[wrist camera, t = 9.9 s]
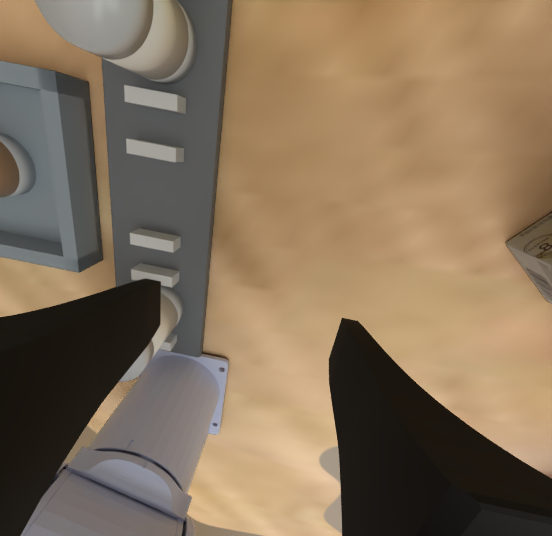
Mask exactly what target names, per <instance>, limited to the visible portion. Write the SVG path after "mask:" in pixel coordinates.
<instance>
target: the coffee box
mask: <svg viewBox="0 0 552 536" xmlns="http://www.w3.org/2000/svg"><path fill="white" fill-rule="evenodd" d="M506 245H507V247H508V248H509V250H510V251H511V252H512V254H513V255H514V257H515V258H516V259H517V261H518V262H519V263H520V265H521V266H522V268H523V269H524V270H525V272H526V273H527V274H528V276H529V277H530V279H531V280H532V281H533V283H534V284H535V285H536V287H537V288H538V289H539V291H540V292H541V294H542V295H543V296H544V298H545V299H546V300H547V301H548V302H549V303H551V304H552V213H550V214H549V215H547V216H546V217H544V218H543V219H541V220H540V221H538V222H537V223H535V224H533V225H532V226H530V227H529V228H527V229H526V230H524V231H523V232H521V233H520V234H518V235H517V236H515V237H514V238H512V239H511V240H509V241H507V243H506Z"/></svg>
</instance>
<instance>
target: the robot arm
mask: <svg viewBox="0 0 552 536" xmlns="http://www.w3.org/2000/svg"><path fill="white" fill-rule="evenodd" d="M160 320H161V281H156V280H151V279H146V278H145V279H141V280H137V281H134V282H130V283H127V284H124V285H121V286H118V287H115V288H112V289H109V290H106V291H103V292H100V293H97V294H94V295H90V296H87V297H84V298H80V299H77V300H74V301H70V302H67V303H63V304H60V305H56V306H52V307H48V308H44V309H40V310H35V311H31V312H26V313H22V314H17V315H12V316H6V317H0V536H196V533H195V524H194V521H193V520H192V519H190V518H188V517H186V514H187V511H188V508H189V505H190V502H191V499H192V497H191V496H190V495H188V494H187V493H188V490H189V488H190V485H191V482H192V479H193V476H194V473H195V470H196V467H197V464H198V461H199V459H200V456H201V453H202V450H203V447H204V444H205V441H206V438H207V435H208V433H209V434H214V435H216V434H218V433H219V431H220V426H221V418H222V411H223V404H224V396H225V389H226V382H227V374H228V367H229V362H228V360H227V359H225V358H221V357H216V356H211V355H206V354H201V355H200V357H199V358H198V357H193V356H188V355H183V354H178V353H173V352H169V351H164V350H159V349H158V351H157V352H156V353H155V355H154V356H153V357H152V359H151V360H150V361H149V363H148V364H147V366H146V367H145V368H144V370H143V371H142V372H141V374H140V375H139V378H138V379H137V381H136V382H135V384H134V385H133V386H132V388H131V389H130V390H129V392H128V393H127V394H126V396H125V397H124V398H123V400H122V401H121V403H120V404H119V405H118V407H117V408H116V409H115V411H114V412H113V413H112V415H111V416H110V417H109V419H108V420H107V422H106V423H105V424H104V426H103V427H102V428H101V430H100V431H99V432H98V434H97V435H96V437H95V438H94V439H93V441H92V442H91V443H90V445H89V446H88V447H82V448H81V449H80V451H79V452H78V453H77V455H76V456H75V458H74V459H73V460H72V461H71V463H70V464H69V465H68V463H66V462H64V460H65V458H66V457H67V455H68V453H69V452H70V450H71V449H72V447H73V446H74V444H75V443H76V441H77V439H78V438H79V436H80V435H81V433H82V432H83V430H84V428H85V427H86V426H87V424H88V423H89V421H90V420H91V418H92V417H93V415H94V414H95V412H96V411H97V409H98V408H99V406H100V405H101V403H102V402H103V401H104V399H105V398H106V397H107V395H108V394H109V393H110V392H111V390H112V389H113V388H114V387H115V385H116V384H117V383H118V382H119V381H120V379H121V378H122V377H123V376H124V375H125V373H126V372H127V371H128V370H129V368H130V367H131V366H132V365H133V364H134V362H135V361H136V360H137V359H138V357H139V356H140V355H141V354H142V352H143V351H144V350H145V349H146V347H147V346H148V345H149V343H150V341H151V340H152V338H153V337H154V335H155V333H156V331H157V330H158V328H159V326H160ZM221 367H222V368H224V369H222V368H221ZM329 384H330V392H331V399H332V406H333V413H334V419H335V426H336V433H337V440H338V448H339V459H340V480H341V505H342V536H552V479H551V478H549V477H548V476H546V475H544V474H543V473H541V472H539V471H538V470H536V469H534V468H533V467H531V466H529V465H528V464H526V463H524V462H522V461H521V460H519V459H518V458H516V457H515V456H513V455H511V454H510V453H508V452H507V451H505V450H504V449H502V448H501V447H499V446H498V445H496V444H495V443H493V442H492V441H490V440H489V439H487V438H486V437H484V436H483V435H482V434H480V433H479V432H477V431H476V430H474V429H473V428H472V427H470V426H469V425H467V424H466V423H465V422H463V421H462V420H461V419H459V418H458V417H457V416H455V415H454V414H453V413H451V412H450V411H449V410H448V409H446V408H445V407H444V406H443V405H441V404H440V403H439V402H438V401H436V400H435V399H434V398H433V397H432V396H431V395H429V394H428V393H427V392H426V391H425V390H424V389H422V388H421V387H420V386H419V385H418V384H417V383H416V382H415V381H414V380H412V379H411V378H410V377H409V376H408V375H407V374H406V373H405V372H404V371H403V370H402V369H401V368H400V367H399V366H398V365H397V364H396V363H395V362H394V361H393V360H392V358H391V357H390V356H389V355H388V354H387V353H386V352H385V351H384V350H383V349H382V348H381V346H380V345H379V344H378V343H377V342H376V341H375V340H374V338H373V337H372V336H371V335H370V334H369V333H368V332H367V330H366V329H365V328H364V327H363V326H362V325H361V324H360V323H359V322H358V321H355V320H350V319H345V318H342V320H341V323H340V326H339V329H338V333H337V336H336V339H335V342H334V345H333V348H332V351H331V355H330V358H329Z"/></svg>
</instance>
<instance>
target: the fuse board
mask: <svg viewBox="0 0 552 536" xmlns="http://www.w3.org/2000/svg"><path fill="white" fill-rule="evenodd" d="M177 1H178V2H179V3H180V5H181V6H182V7H183V8H184V9H185V11H186V12H187V13H188V15H189V17H190V19H191V21H192V23H193V26H194V29H195V32H196V38H197V54H196V58H195V62H194V64H193V67H192V69H191V70H190V72H189V73H188V74H187V76H186V77H184V78H183V79H182V80H180V81H179V82H177V83H174V84H167V85H165V84H159V83H156V82H153V81H151V80H149V79H147V78H145V77H142V76H140V75H138V74H136V73H134V72H131V71H129V70H127V69H125V68H123V67H121V66H118V65H116V64H114V63H112V62H110V61H107V60H105V59H103V58H102V70H103V86H104V102H105V118H106V133H107V149H108V165H109V181H110V197H111V213H112V229H113V244H114V260H115V276H116V287H118V286H121V285H124V284H127V283H130V282H134V281H137V280H141V279H145V278H146V279H151V280H156V281H161V285H162V286H167V287H171V288H173V289H174V290H175V291H176V292H177V293H178V294H179V295H180V297H181V298H182V301H183V303H184V314H183V316H182V318H181V320H180V321H179V322H178V324H177V325H176V326H175V328H174V329H173V330H172V332H171V333H170V334H169V336H168V337H167V339H166V340H165V341H164V343H163V344H162V345H161V347H160V348H159V350H164V351H169V352H173V353H178V354H183V355H188V356H193V357H198V358H199V357H200V355H201V353H202V351H203V339H204V327H205V316H206V304H207V292H208V280H209V269H210V257H211V245H212V233H213V222H214V210H215V198H216V187H217V175H218V163H219V151H220V140H221V128H222V116H223V104H224V93H225V81H226V69H227V57H228V46H229V34H230V22H231V11H232V0H177Z"/></svg>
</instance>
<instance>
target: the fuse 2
mask: <svg viewBox="0 0 552 536" xmlns="http://www.w3.org/2000/svg"><path fill="white" fill-rule="evenodd" d="M183 314H184V303H183V301H182V298H181V297H180V295H179V294H178V293H177V292H176V291H175V290H174V289H173V288H171V287H167V286H162V285H161V320H160V326H159V328H158V330H157V331H156V333H155V335H154V337H153V338H152V340H151V341H150V343H149V345H148V346H147V347H146V349H145V350H144V351H143V352H142V354H141V355H140V356H139V357H138V359H137V360H136V361H135V362H134V364H133V365H132V366H131V367H130V368H129V370H128V371H127V372H126V373H125V375H124V376H123V377H122V378H121V379H120V381H119V382H125V381H130V380H133V379H135V378H136V377H138V376H139V375H140V374H141V372H142V371H143V370H144V368H145V367H146V366H147V364H148V363H149V361H150V360H151V359H152V357H153V356H154V355H155V353H156V352H157V351H158V349H159V348H160V347H161V345H162V344H163V343H164V341H165V340H166V339H167V337H168V336H169V334H170V333H171V332H172V330H173V329H174V328H175V326H176V325H177V324H178V322H179V321H180V320H181V318H182V316H183Z"/></svg>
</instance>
